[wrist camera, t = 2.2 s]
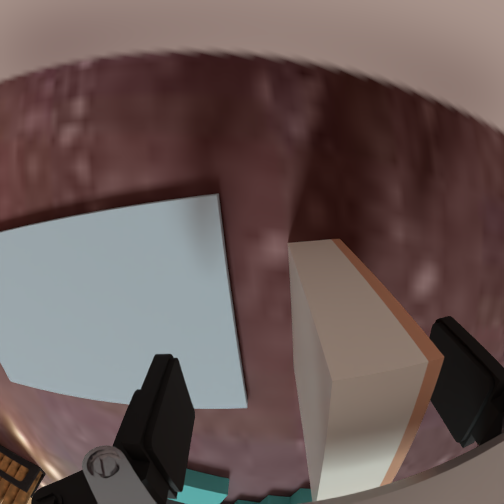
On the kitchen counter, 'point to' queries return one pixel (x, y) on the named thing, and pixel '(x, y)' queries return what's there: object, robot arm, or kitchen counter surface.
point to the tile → (354, 370)
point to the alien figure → (224, 492)
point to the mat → (121, 302)
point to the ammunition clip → (17, 478)
